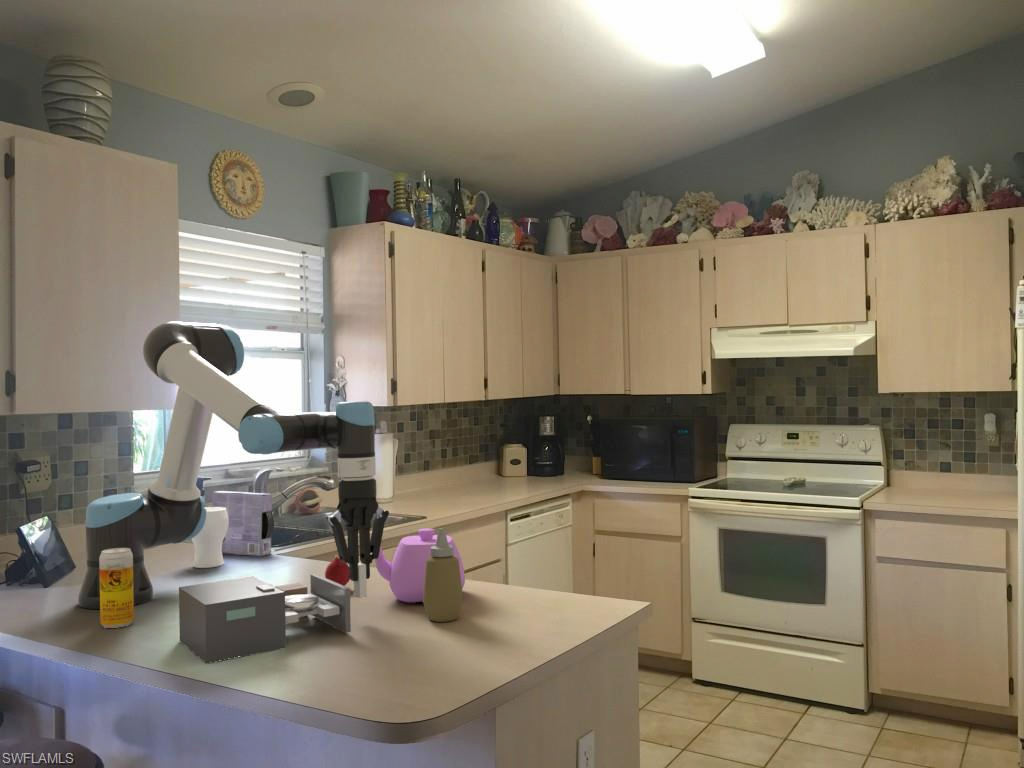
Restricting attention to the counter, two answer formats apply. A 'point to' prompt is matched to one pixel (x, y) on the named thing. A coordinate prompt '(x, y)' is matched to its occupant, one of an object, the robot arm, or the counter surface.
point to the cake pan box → (246, 522)
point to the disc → (301, 603)
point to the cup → (211, 538)
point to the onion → (338, 572)
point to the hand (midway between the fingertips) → (360, 596)
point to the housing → (232, 618)
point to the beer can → (116, 587)
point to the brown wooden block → (293, 589)
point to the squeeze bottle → (442, 582)
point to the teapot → (412, 565)
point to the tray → (327, 604)
